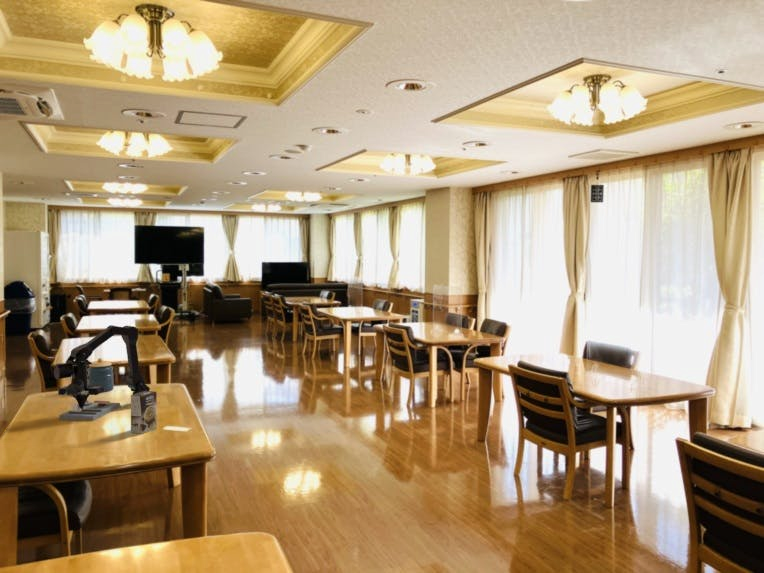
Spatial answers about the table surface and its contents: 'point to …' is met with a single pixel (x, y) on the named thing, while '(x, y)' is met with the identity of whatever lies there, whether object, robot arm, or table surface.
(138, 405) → the coffee box
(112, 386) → the canister
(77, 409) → the slider
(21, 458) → the table surface
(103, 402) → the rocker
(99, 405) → the switch panel
